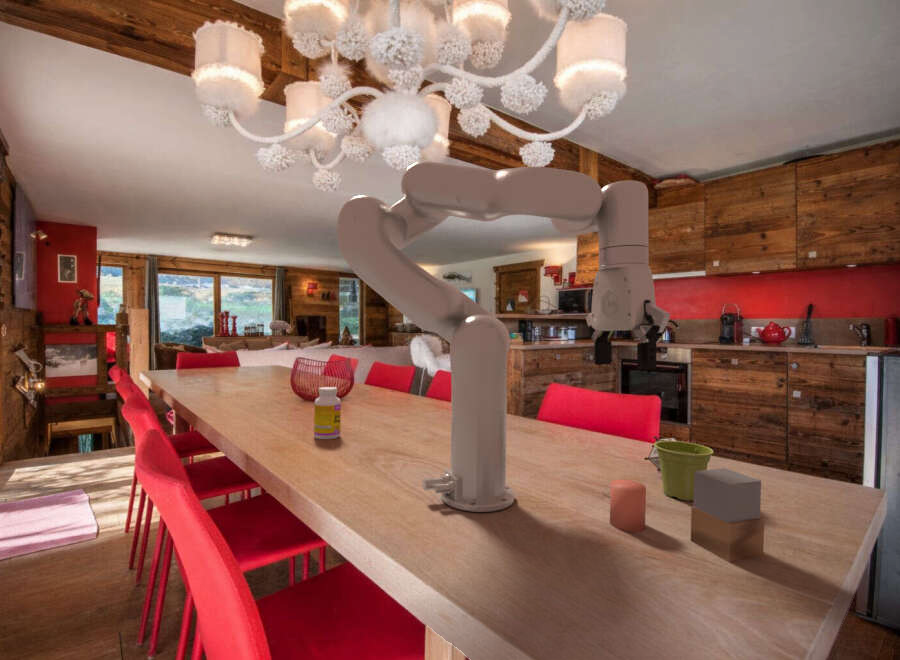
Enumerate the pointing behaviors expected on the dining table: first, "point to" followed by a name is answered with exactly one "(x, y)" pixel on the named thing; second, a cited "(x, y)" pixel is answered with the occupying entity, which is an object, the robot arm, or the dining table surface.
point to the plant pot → (681, 466)
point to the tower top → (727, 494)
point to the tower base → (727, 536)
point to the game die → (653, 454)
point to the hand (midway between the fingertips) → (623, 366)
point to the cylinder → (627, 505)
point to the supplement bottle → (327, 414)
